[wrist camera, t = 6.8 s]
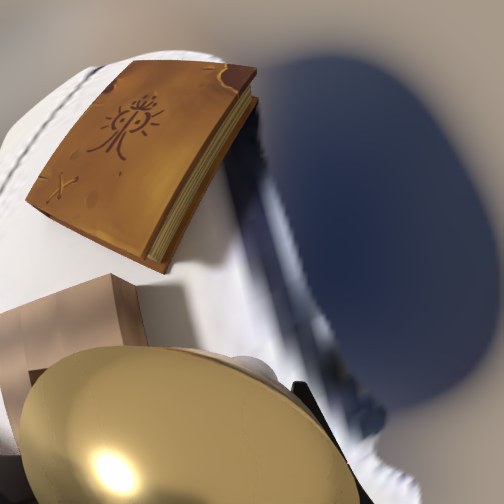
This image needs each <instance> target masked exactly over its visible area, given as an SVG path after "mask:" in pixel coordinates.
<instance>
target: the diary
mask: <svg viewBox="0 0 504 504" xmlns="http://www.w3.org/2000/svg"><path fill="white" fill-rule="evenodd" d="M256 74H257V68H254V67H248V66H241V65H233V64H224V63H214V62H201V61H183V60H137V61H133V62H132V63H131V64H130V65H128V66H127V67H126V68H125V69H124V70H123V71H122V72H121V73H120V74H119V75H118V76H117V77H116V78H115V79H114V80H113V81H112V82H111V83H110V84H109V85H108V86H107V87H106V89H105V90H104V91H103V92H102V93H101V94H100V95H99V96H98V97H97V98H96V100H95V101H94V102H93V103H92V104H91V105H90V106H89V108H88V109H87V110H86V111H85V112H84V114H83V115H82V116H81V117H80V118H79V120H78V121H77V122H76V123H75V125H74V126H73V127H72V129H71V130H70V131H69V132H68V134H67V135H66V136H65V138H64V139H63V141H62V142H61V143H60V145H59V146H58V148H57V149H56V150H55V152H54V153H53V155H52V156H51V158H50V159H49V161H48V162H47V164H46V165H45V167H44V169H43V170H42V172H41V173H40V175H39V177H38V178H37V180H36V182H35V183H34V185H33V187H32V188H31V190H30V192H29V194H28V196H27V197H26V199H25V200H26V201H27V202H28V203H29V204H30V205H32V206H33V207H34V208H36V209H37V210H39V211H40V212H41V213H43V214H44V215H45V216H47V217H49V218H50V219H52V220H54V221H56V222H58V223H60V224H61V225H63V226H65V227H67V228H69V229H71V230H73V231H75V232H77V233H79V234H80V235H82V236H84V237H86V238H88V239H90V240H92V241H94V242H96V243H98V244H100V245H102V246H104V247H106V248H108V249H110V250H112V251H114V252H117V253H119V254H121V255H123V256H125V257H127V258H129V259H131V260H133V261H135V262H138V263H140V264H142V265H144V266H146V267H148V268H151V269H153V270H155V271H157V272H159V273H162V274H165V272H166V270H167V267H168V265H169V263H170V261H171V259H172V257H173V255H174V253H175V251H176V249H177V246H178V244H179V242H180V240H181V238H182V236H183V234H184V232H185V230H186V228H187V226H188V224H189V222H190V220H191V218H192V216H193V214H194V212H195V210H196V209H197V207H198V205H199V203H200V201H201V199H202V197H203V195H204V193H205V191H206V190H207V188H208V186H209V184H210V182H211V180H212V179H213V177H214V175H215V173H216V171H217V169H218V168H219V166H220V164H221V162H222V161H223V159H224V157H225V155H226V154H227V152H228V150H229V148H230V147H231V145H232V143H233V141H234V140H235V138H236V136H237V135H238V133H239V131H240V130H241V128H242V126H243V125H244V123H245V121H246V120H247V118H248V116H249V115H250V113H251V111H252V110H253V108H254V107H255V105H256V103H257V102H258V103H259V100H258V98H257V97H252V96H251V86H250V83H251V81H252V80H253V79H254V77H255V76H256Z"/></svg>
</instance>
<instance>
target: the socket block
mask: <svg viewBox="0 0 504 504" xmlns="http://www.w3.org/2000/svg"><path fill="white" fill-rule="evenodd" d="M120 345H124V346H147V347H148V343H147V339H146V335H145V331H144V326H143V322H142V317H141V313H140V308H139V303H138V298H137V293H136V288H135V285H133V284H131V283H129V282H127V281H125V280H123V279H121V278H119V277H117V276H115V275H113V274H111V273H110V274H107V275H104V276H101V277H98V278H95V279H93V280H90V281H87V282H84V283H81V284H79V285H76V286H73V287H70V288H67V289H65V290H62V291H59V292H57V293H54V294H51V295H48V296H46V297H43V298H40V299H38V300H35V301H32V302H30V303H27V304H24V305H22V306H19V307H17V308H14V309H11V310H9V311H6V312H4V313H1V314H0V388H1V392H2V396H3V400H4V404H5V408H6V412H7V415H8V419H9V422H10V425H11V428H12V432H13V435H14V437H15V440H16V443H17V446H18V449H19V451H20V440H19V429H20V419H21V414H22V410H23V406H24V403H25V400H26V398H27V396H28V394H29V392H30V390H31V388H32V387H33V385H34V384H35V382H36V381H37V379H38V378H39V377H40V376H41V375H42V374H43V373H44V372H45V371H46V370H47V369H48V368H49V367H50V366H52V365H53V364H55V363H56V362H58V361H59V360H61V359H63V358H65V357H67V356H69V355H72V354H74V353H77V352H79V351H83V350H87V349H92V348H96V347H105V346H120ZM20 454H21V451H20Z"/></svg>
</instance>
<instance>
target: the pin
mask: <svg viewBox="0 0 504 504" xmlns="http://www.w3.org/2000/svg"><path fill="white" fill-rule="evenodd" d="M19 440H20V451H21V457H22V462H23V466H24V470H25V473H26V476H27V479H28V482H29V484H30V486H31V489H32V491H33V493H34V495H35V497H36V499H37V501H38V503H39V504H360V499H359V494H358V490H357V487H356V483H355V480H354V477H353V475H352V473H351V471H350V469H349V467H348V465H347V463H346V462H345V460H344V458H343V457H342V455H341V454H340V452H339V451H338V449H337V448H336V446H335V445H334V444H333V442H332V441H331V439H330V438H329V436H328V435H327V433H326V432H325V430H324V429H323V427H322V426H321V424H320V423H319V422H318V420H317V419H316V417H315V416H314V415H313V413H312V412H311V411H310V410H309V409H308V407H307V406H306V405H305V404H304V403H303V402H302V401H301V400H300V399H299V398H298V397H297V396H296V395H294V394H293V393H292V392H291V391H290V390H288V389H287V388H286V387H285V386H284V385H282V384H281V383H279V382H278V379H277V377H276V375H275V373H274V371H273V370H272V369H271V368H270V367H269V366H268V365H267V364H266V363H264V362H263V361H261V360H259V359H257V358H254V357H250V356H237V357H233V358H230V357H227V356H225V355H221V354H217V353H213V352H209V351H205V350H198V349H191V348H185V347H147V346H124V345H120V346H105V347H96V348H92V349H87V350H83V351H79V352H77V353H74V354H72V355H69V356H67V357H65V358H63V359H61V360H59V361H58V362H56V363H55V364H53V365H52V366H50V367H49V368H48V369H47V370H46V371H45V372H44V373H43V374H42V375H41V376H40V377H39V378H38V379H37V381H36V382H35V384H34V385H33V387H32V388H31V390H30V392H29V394H28V396H27V398H26V400H25V403H24V406H23V410H22V414H21V419H20V429H19Z"/></svg>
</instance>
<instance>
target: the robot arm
mask: <svg viewBox="0 0 504 504" xmlns="http://www.w3.org/2000/svg"><path fill="white" fill-rule="evenodd" d="M291 392H292V393H293V394H294V395H296V396H297V397H298V398H299V399H300V400H301V401H302V402H303V403H304V404H305V405H306V406H307V407H308V409H309V410H310V411H311V412H312V413H313V415H314V416H315V417H316V419H317V420H318V422H319V423H320V424H321V426H322V427H323V429H324V430H325V432H326V433H327V435H328V436H329V438H330V439H331V441H332V442H333V444H334V445H335V446H336V448H337V449H338V451H339V452H340V454H341V455H342V457H343V458H344V460H345V462H346V463H348V462H347V460H346V458H345V456H344V454H343V452H342V450H341V449H340V447H339V445H338V443H337V441H336V439H335V437H334V435H333V433H332V431H331V429H330V428H329V426H328V424H327V422H326V420H325V418H324V416H323V414H322V412H321V410H320V408H319V406H318V404H317V403H316V401H315V399H314V397H313V395H312V393H311V391H310V389H309V387H308V385H307V383H306V382H303V381H294V382H293V384H292V388H291ZM347 465H348V467H349V469H350V471H351V473H352V475H353V477H354V480H355V483H356V487H357V490H358V494H359V499H360V504H374V503H373V501H372V500H371V499H370V498H369V496H368V495H367V493H366V492H365V491H364V489H363V488H362V486H361V485H360V483H359V481H358V480H357V478H356V476H355V475H354V473H353V471H352V469H351V467H350V465H349V464H347ZM0 504H39V503H38V501H37V499H36V497H35V495H34V493H33V491H32V489H31V486H30V484H29V482H28V479H27V476H26V473H25V470H24V466H23V462H22V457H21V455H0Z"/></svg>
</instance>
